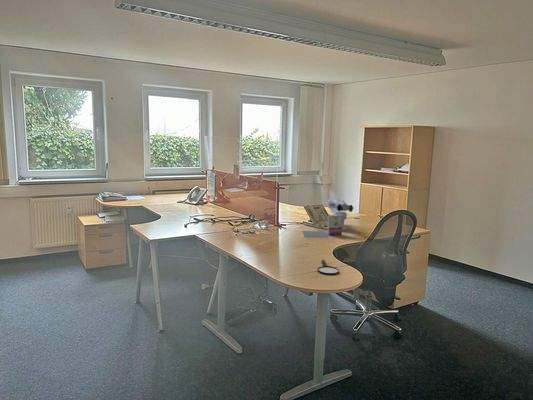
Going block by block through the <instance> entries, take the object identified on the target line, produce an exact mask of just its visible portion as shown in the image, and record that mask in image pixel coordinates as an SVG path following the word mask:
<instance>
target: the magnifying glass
mask: <svg viewBox="0 0 533 400" xmlns="http://www.w3.org/2000/svg"><path fill="white" fill-rule="evenodd" d="M321 264H322V266H319V267H318V268H317V272H318V273H319V274H320V275H325V276H336V275H338V274H339V273H340V269H339V268H337V267H335V266H331V265H328V264H327V263H326V261H325V259H322V260H321Z"/></svg>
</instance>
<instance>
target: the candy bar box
mask: <svg viewBox="0 0 533 400" xmlns="http://www.w3.org/2000/svg"><path fill="white" fill-rule="evenodd" d="M326 219H327V220H326V221H327V222H326V223H327V224H326V225H327V227H326V234H327V236H328V237H329V236H331V237H332V236H342V215H334V214H328V215H327V218H326Z"/></svg>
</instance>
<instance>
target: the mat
mask: <svg viewBox="0 0 533 400" xmlns="http://www.w3.org/2000/svg"><path fill="white" fill-rule="evenodd" d="M302 234H303V236H304V237H305V238H326V239H327V238H329V235H327V232H325V231H322V230H321V231H319V230H317V231H316V230H315V231H314V230H302Z"/></svg>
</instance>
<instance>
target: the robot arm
mask: <svg viewBox="0 0 533 400" xmlns="http://www.w3.org/2000/svg"><path fill="white" fill-rule="evenodd" d="M326 206H327V208H329V210H330V211H331V213H333V215H342V231H344V232H345V231H346V229H345V220H346V219H347V216H348V214H347V212H346V211H348V212H350V213H351V212H353V210H354V206H353V205H352V204H347V203H346V202H345V200H341V199H339V198H336V199H327V202H326Z"/></svg>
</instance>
